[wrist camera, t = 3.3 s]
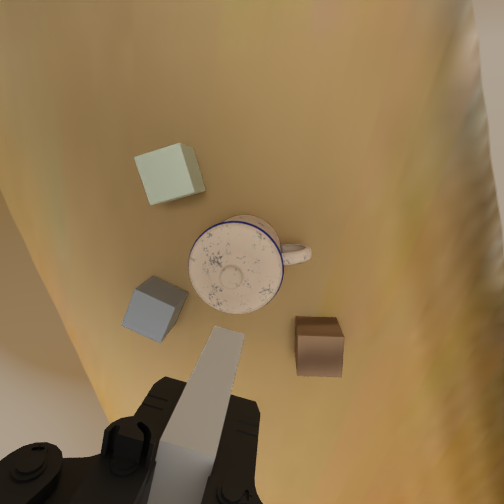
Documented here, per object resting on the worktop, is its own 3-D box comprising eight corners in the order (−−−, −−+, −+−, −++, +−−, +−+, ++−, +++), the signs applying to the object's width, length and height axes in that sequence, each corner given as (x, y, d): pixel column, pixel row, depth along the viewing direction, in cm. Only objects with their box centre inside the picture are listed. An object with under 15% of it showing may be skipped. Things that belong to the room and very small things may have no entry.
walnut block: (295, 316, 38) (298, 335, 33) (336, 317, 37) (344, 337, 33) (294, 351, 39) (297, 375, 34) (333, 353, 39) (341, 377, 34)
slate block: (153, 275, 38) (134, 289, 34) (188, 291, 38) (175, 307, 34) (140, 308, 40) (121, 325, 35) (175, 323, 40) (160, 343, 35)
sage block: (153, 160, 35) (133, 157, 30) (193, 148, 34) (179, 142, 30) (167, 202, 36) (150, 205, 31) (206, 191, 35) (194, 192, 31)
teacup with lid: (215, 288, 38) (188, 333, 27) (202, 217, 36) (167, 233, 25) (310, 278, 36) (324, 321, 25) (302, 203, 35) (314, 213, 23)
